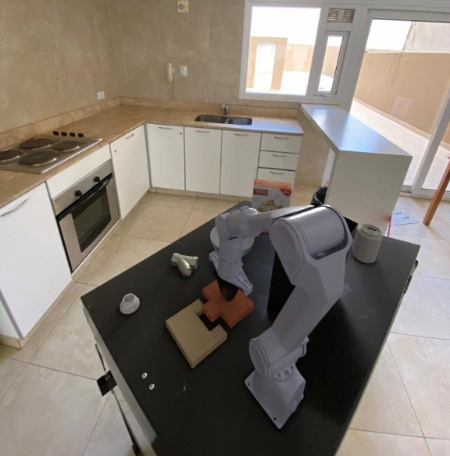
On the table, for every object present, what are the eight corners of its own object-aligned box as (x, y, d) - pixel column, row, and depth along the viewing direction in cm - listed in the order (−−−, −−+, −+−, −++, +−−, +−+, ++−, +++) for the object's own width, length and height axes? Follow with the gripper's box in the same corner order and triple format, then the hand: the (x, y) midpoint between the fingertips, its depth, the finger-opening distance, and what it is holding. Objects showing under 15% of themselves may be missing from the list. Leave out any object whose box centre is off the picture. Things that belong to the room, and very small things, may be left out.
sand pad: (226, 339, 62) (227, 333, 61) (192, 368, 55) (192, 363, 55) (198, 303, 70) (198, 298, 69) (166, 326, 64) (165, 320, 63)
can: (375, 254, 91) (384, 227, 86) (374, 268, 85) (383, 239, 80) (352, 246, 94) (360, 219, 90) (350, 258, 88) (358, 230, 84)
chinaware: (247, 275, 80) (248, 256, 77) (203, 262, 84) (203, 244, 81) (256, 244, 93) (258, 227, 90) (218, 235, 97) (218, 218, 94)
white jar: (119, 301, 70) (120, 317, 65) (118, 294, 68) (119, 309, 64) (138, 295, 72) (140, 310, 67) (137, 287, 71) (139, 302, 66)
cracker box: (248, 232, 100) (253, 185, 92) (249, 223, 105) (254, 178, 98) (284, 237, 98) (292, 189, 90) (284, 227, 103) (291, 182, 96)
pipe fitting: (192, 281, 77) (198, 263, 83) (191, 272, 76) (198, 255, 82) (167, 276, 79) (175, 259, 85) (166, 267, 77) (174, 250, 83)
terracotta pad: (253, 309, 66) (255, 293, 64) (222, 335, 60) (222, 319, 58) (224, 279, 75) (225, 265, 73) (193, 299, 68) (193, 284, 66)
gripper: (263, 265, 59) (258, 306, 64) (223, 233, 70) (222, 270, 75) (241, 280, 55) (237, 323, 60) (202, 244, 65) (202, 283, 70)
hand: (227, 295), depth 67 cm, fingers closed on terracotta pad, 2 cm apart
